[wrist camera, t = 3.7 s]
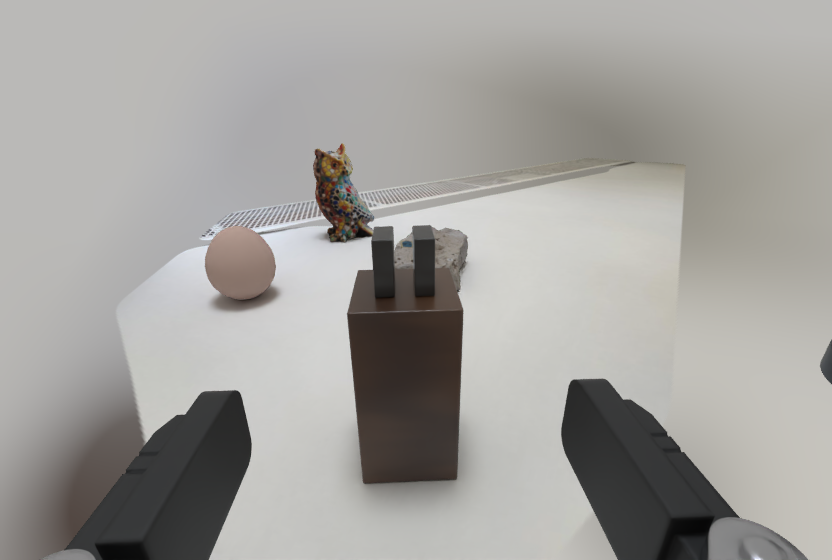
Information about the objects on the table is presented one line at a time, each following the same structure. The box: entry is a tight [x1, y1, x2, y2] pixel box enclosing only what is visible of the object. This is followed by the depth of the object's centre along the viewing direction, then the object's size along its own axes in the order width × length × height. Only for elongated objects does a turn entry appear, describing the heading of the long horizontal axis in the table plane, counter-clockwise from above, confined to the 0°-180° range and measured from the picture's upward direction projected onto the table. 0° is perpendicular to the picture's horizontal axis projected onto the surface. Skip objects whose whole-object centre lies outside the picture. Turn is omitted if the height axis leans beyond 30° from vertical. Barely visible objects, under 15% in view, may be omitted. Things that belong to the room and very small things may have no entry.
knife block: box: [347, 225, 463, 483], centre depth 22 cm, size 5×5×14 cm
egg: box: [205, 226, 276, 300], centre depth 44 cm, size 7×7×8 cm
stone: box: [394, 227, 468, 290], centre depth 50 cm, size 13×6×10 cm
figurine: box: [313, 144, 374, 242], centre depth 64 cm, size 9×9×15 cm
